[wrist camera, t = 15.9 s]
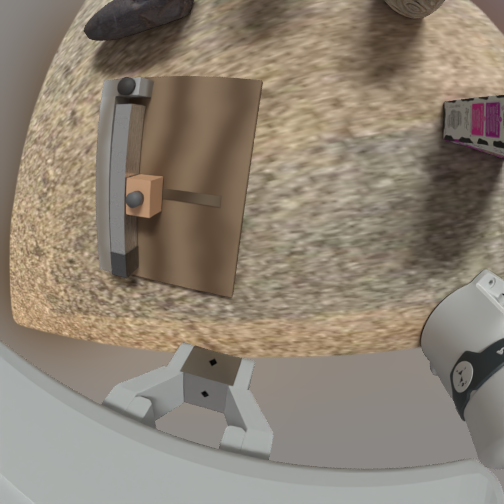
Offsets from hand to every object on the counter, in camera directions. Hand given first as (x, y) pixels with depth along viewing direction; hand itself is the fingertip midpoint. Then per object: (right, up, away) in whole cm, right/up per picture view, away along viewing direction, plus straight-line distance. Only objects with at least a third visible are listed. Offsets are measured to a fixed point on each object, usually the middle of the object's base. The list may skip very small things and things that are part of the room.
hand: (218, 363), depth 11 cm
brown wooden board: (-9, +12, +21) cm, 26 cm away
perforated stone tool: (-11, +33, +13) cm, 37 cm away
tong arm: (-13, +12, +20) cm, 27 cm away
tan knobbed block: (-10, +11, +20) cm, 25 cm away
